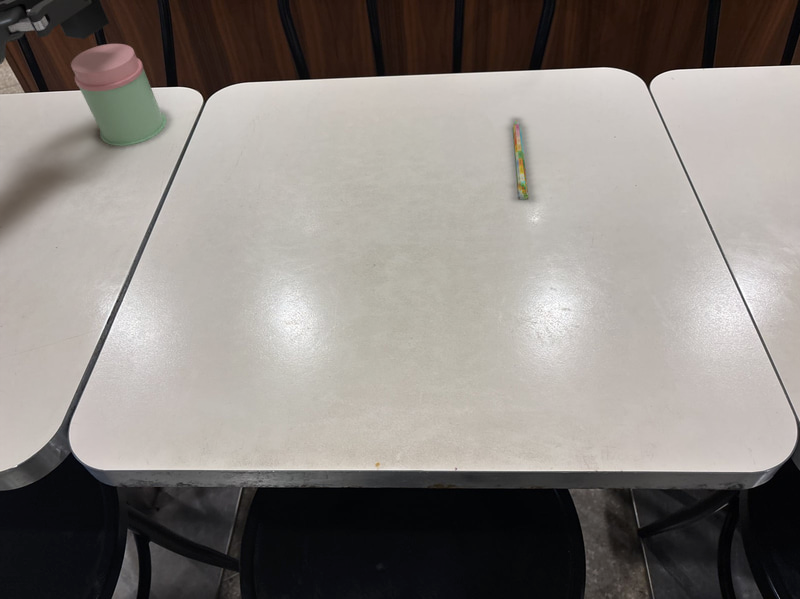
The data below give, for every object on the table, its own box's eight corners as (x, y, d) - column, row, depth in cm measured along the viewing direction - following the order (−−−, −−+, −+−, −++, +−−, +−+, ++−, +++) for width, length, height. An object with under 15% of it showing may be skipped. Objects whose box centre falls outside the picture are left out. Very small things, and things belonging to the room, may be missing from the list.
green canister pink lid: (89, 145, 89) (51, 73, 81) (122, 110, 96) (90, 40, 87) (148, 150, 88) (116, 77, 79) (178, 113, 94) (151, 42, 85)
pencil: (511, 122, 87) (518, 200, 75) (511, 115, 86) (518, 193, 74) (520, 122, 86) (528, 200, 75) (520, 115, 86) (529, 193, 74)
